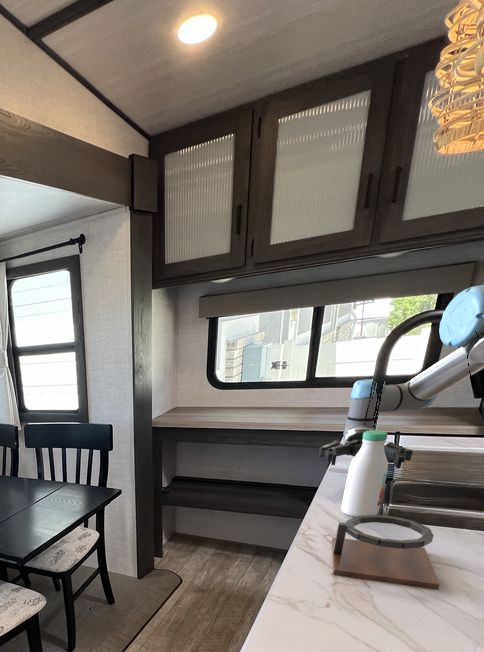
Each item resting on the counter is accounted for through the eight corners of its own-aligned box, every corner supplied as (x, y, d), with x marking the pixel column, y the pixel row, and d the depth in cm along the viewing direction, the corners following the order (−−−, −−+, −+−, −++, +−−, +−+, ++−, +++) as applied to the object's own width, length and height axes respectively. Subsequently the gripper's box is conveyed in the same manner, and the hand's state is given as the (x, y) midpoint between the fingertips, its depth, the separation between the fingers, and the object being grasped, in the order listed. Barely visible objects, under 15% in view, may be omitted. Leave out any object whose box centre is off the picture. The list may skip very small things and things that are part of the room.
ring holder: (423, 551, 95) (433, 517, 92) (438, 589, 83) (450, 551, 80) (331, 541, 103) (338, 509, 100) (333, 574, 90) (340, 538, 87)
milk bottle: (370, 520, 111) (388, 437, 103) (335, 513, 117) (349, 433, 109) (383, 511, 115) (402, 430, 107) (348, 504, 121) (364, 427, 113)
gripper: (412, 456, 129) (425, 479, 112) (308, 452, 141) (306, 472, 124) (419, 429, 126) (433, 448, 109) (312, 427, 138) (311, 444, 121)
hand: (365, 461), depth 117 cm, fingers open, 13 cm apart
